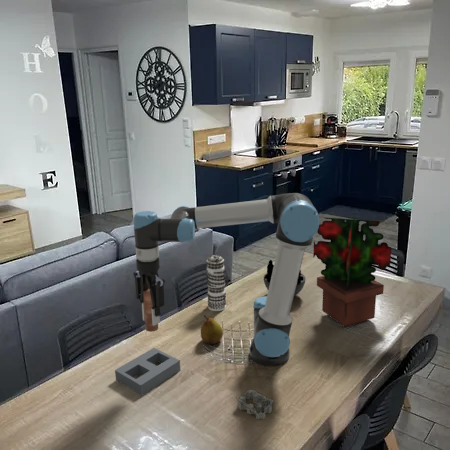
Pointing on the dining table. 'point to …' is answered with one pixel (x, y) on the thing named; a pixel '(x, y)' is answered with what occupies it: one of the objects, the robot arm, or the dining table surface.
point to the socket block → (147, 370)
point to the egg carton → (258, 401)
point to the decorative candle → (216, 283)
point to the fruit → (211, 331)
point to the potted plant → (350, 269)
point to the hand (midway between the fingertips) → (151, 321)
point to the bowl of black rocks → (269, 273)
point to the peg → (148, 311)
